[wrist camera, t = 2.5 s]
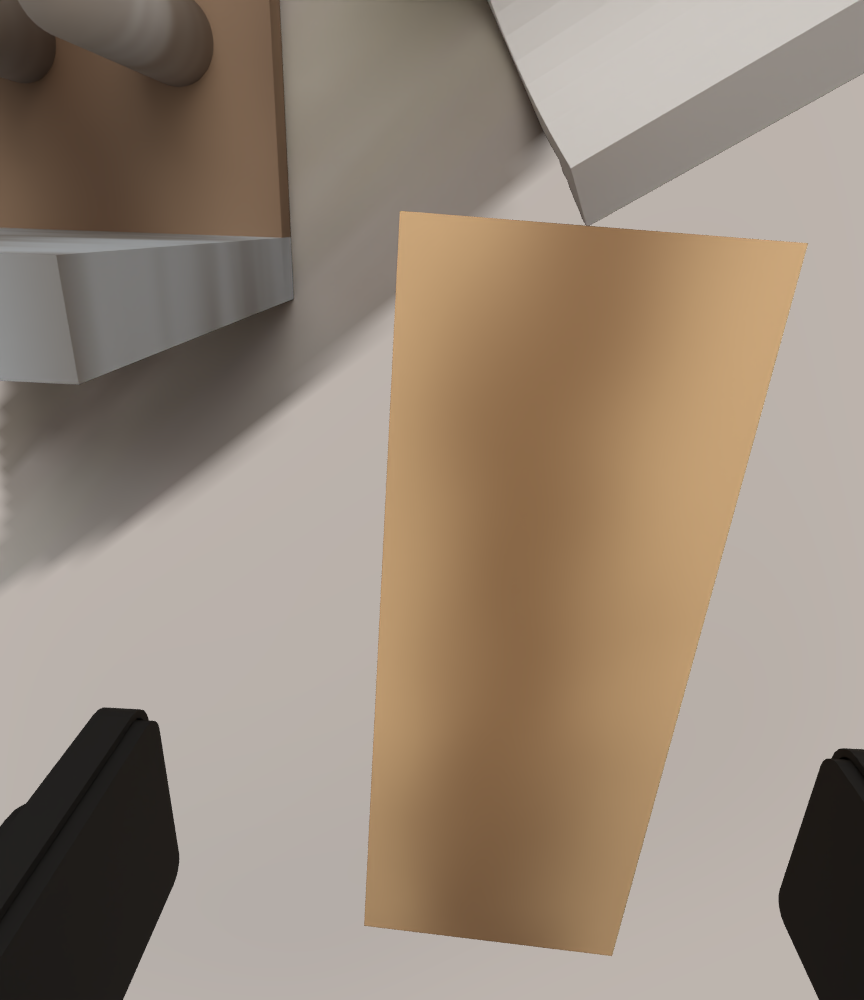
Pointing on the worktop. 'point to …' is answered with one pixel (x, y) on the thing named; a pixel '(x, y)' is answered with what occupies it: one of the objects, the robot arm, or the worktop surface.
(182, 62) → the peg frame
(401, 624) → the shelf board
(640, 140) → the crown molding
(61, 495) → the worktop surface
